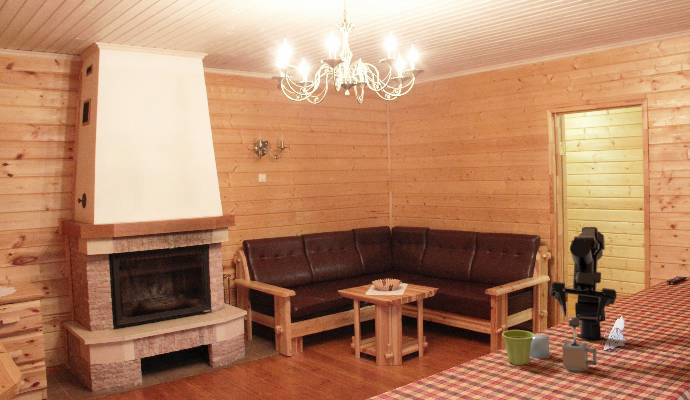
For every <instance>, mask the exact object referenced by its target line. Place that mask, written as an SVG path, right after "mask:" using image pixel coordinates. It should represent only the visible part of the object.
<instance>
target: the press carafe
mask: <svg viewBox="0 0 690 400" xmlns="http://www.w3.org/2000/svg"><path fill="white" fill-rule="evenodd" d="M576 343H577V346H574V341H569V340H567V341H564V343H563V345H562V347H561V349H562V366H563V369H564V370H565V371H568V372H572V373H574V372H575V373H580V372H581V373H582V372H587V371H589V366H597V365H598V363H597V348H596V347H595V348H594V347H588V346H589V343H588V342H579V341H576ZM589 353H592V360H589Z"/></svg>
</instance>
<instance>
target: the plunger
mask: <svg viewBox="0 0 690 400" xmlns="http://www.w3.org/2000/svg"><path fill="white" fill-rule="evenodd" d="M568 326H569V327H572V333H573V334H572V335H573V336H572V338H573V341H572V342H574V346H577V343H576V342H577V327H580V318H576V316H575V317H573V316H572V317H568Z"/></svg>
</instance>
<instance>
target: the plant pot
mask: <svg viewBox="0 0 690 400" xmlns="http://www.w3.org/2000/svg"><path fill="white" fill-rule="evenodd" d="M501 335H502V337H503V340H504V341H505V343H504V344H505V349H506V354H507V355H506V356H507V361H508V363H511V364H512V365H515V366H523V365H528V364H529V363H530V358H531V357H530V350H531V342H532V339H533V337H534V333H533V332H531V331H527V330H522V329H521V330H520V329H511V330H506V331H503V332H502V334H501Z"/></svg>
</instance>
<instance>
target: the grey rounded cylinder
mask: <svg viewBox="0 0 690 400" xmlns="http://www.w3.org/2000/svg"><path fill="white" fill-rule="evenodd" d="M533 334H534V333H533ZM550 353H551V352H550V336H549V335H546V334H541V333H540V334H539V333H537V334H536V333H535V334H534V337H533V339H532V342H531V350H530V358H532V359H538V360H542V359H543V360H544V359H549V358H550Z"/></svg>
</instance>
